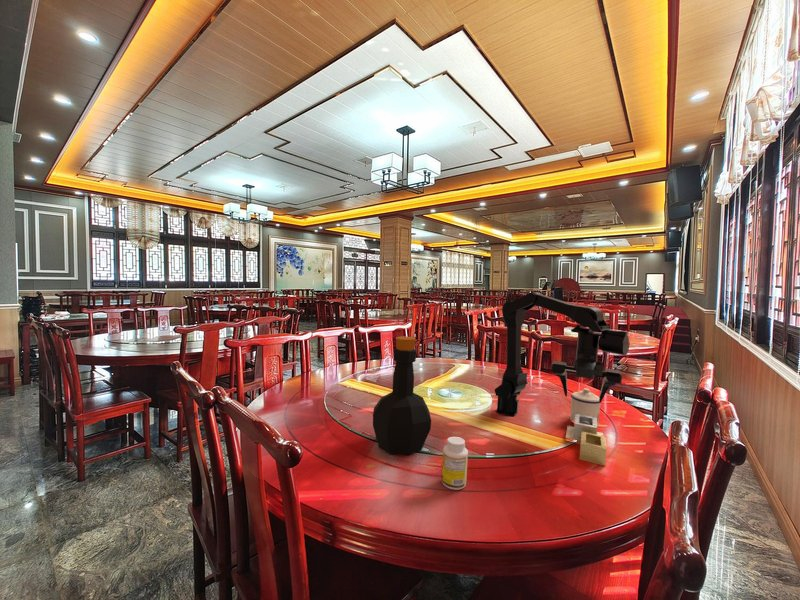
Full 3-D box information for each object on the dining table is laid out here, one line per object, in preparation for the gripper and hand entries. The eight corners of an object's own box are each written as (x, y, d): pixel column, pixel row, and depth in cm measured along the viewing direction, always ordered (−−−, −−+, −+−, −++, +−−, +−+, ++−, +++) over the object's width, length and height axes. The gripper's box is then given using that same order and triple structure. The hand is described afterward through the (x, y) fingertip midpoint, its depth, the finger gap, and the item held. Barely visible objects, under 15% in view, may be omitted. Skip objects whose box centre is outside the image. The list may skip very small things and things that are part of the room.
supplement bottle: (449, 474, 86) (452, 432, 86) (470, 483, 83) (473, 440, 82) (436, 484, 82) (439, 440, 82) (457, 494, 79) (460, 448, 78)
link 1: (596, 443, 105) (597, 428, 105) (573, 438, 108) (574, 423, 107) (595, 432, 113) (596, 418, 113) (574, 427, 116) (575, 413, 115)
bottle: (363, 436, 105) (368, 333, 103) (416, 430, 110) (421, 332, 109) (380, 463, 90) (386, 343, 88) (439, 455, 96) (446, 342, 94)
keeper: (565, 440, 108) (566, 423, 108) (567, 429, 117) (568, 413, 117) (603, 449, 104) (605, 431, 103) (602, 436, 113) (604, 420, 112)
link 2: (605, 465, 94) (606, 449, 94) (579, 459, 97) (580, 443, 97) (603, 451, 102) (605, 436, 102) (580, 446, 105) (581, 431, 105)
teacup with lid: (604, 428, 119) (607, 394, 118) (576, 427, 119) (579, 392, 118) (586, 415, 131) (589, 383, 130) (561, 413, 131) (563, 381, 130)
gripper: (551, 348, 107) (547, 400, 108) (625, 358, 98) (620, 414, 99) (554, 343, 117) (550, 390, 118) (622, 351, 108) (617, 403, 109)
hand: (582, 399), depth 111 cm, fingers open, 9 cm apart
